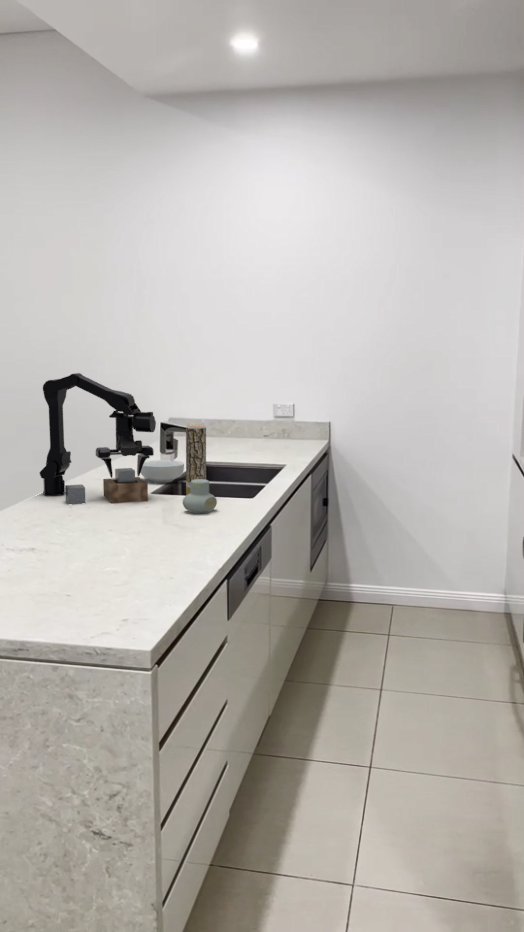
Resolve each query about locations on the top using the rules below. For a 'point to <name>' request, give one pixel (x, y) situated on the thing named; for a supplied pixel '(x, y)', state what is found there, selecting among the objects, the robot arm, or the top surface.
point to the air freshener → (199, 497)
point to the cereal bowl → (162, 470)
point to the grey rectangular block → (124, 475)
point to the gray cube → (75, 494)
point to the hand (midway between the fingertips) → (125, 476)
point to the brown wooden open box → (125, 491)
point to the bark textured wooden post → (195, 454)
